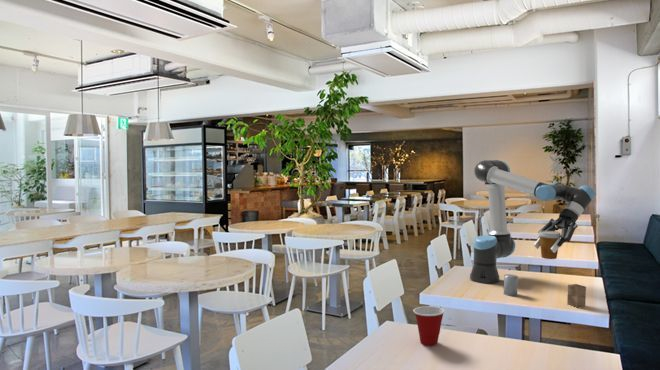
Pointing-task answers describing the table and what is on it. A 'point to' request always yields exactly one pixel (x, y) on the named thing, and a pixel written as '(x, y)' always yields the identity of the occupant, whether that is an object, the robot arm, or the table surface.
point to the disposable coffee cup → (548, 243)
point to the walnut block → (576, 295)
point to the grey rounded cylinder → (510, 284)
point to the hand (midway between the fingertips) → (544, 248)
